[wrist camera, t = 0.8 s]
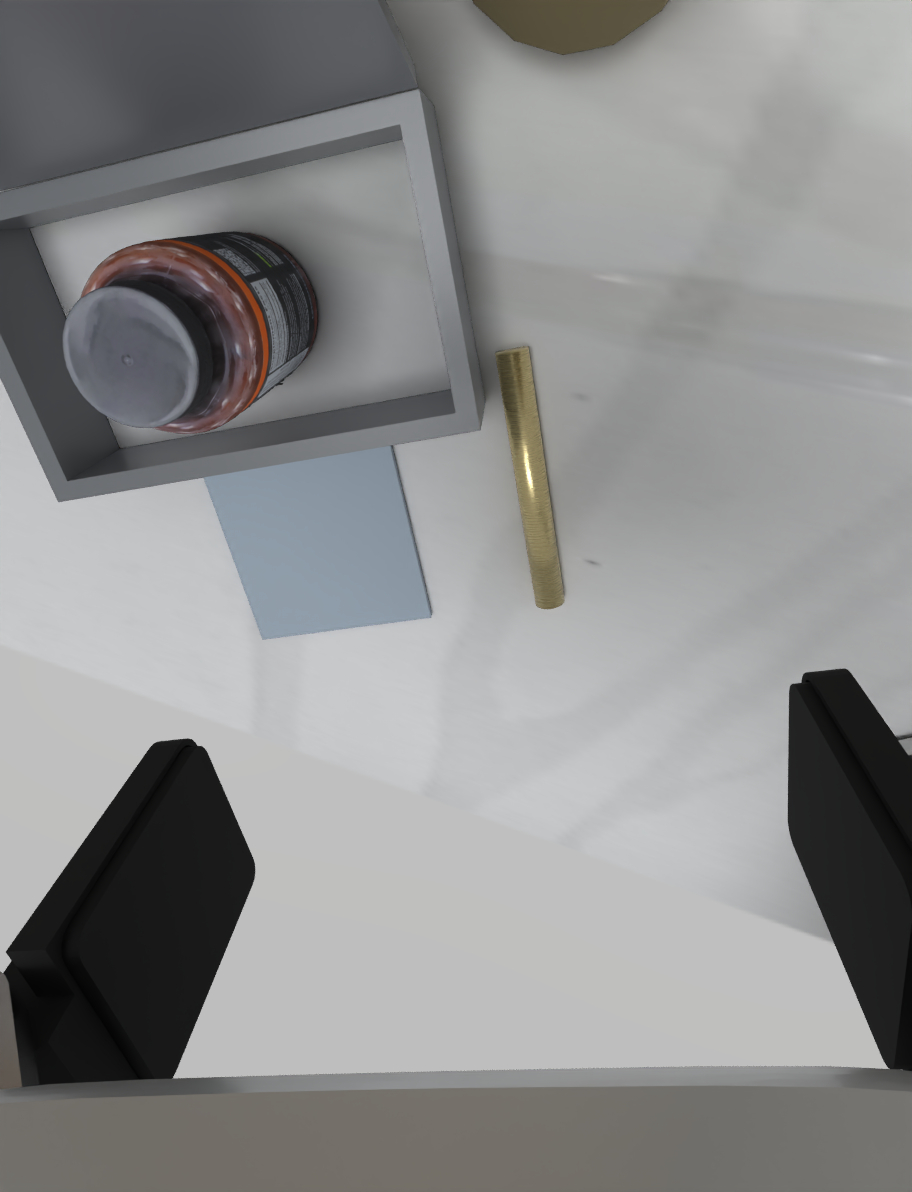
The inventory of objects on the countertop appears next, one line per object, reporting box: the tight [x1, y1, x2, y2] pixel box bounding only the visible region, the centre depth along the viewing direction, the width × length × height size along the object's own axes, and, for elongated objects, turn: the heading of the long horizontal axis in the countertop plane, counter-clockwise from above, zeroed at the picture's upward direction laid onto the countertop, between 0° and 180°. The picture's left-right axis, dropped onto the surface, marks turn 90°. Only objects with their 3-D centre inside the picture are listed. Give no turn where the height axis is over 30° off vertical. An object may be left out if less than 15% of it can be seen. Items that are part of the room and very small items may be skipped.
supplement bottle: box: [63, 232, 317, 434], centre depth 26 cm, size 6×6×11 cm
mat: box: [204, 445, 432, 640], centre depth 36 cm, size 9×9×1 cm
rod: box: [495, 346, 564, 609], centre depth 33 cm, size 12×1×1 cm
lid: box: [0, 0, 418, 191], centre depth 19 cm, size 11×18×1 cm
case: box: [0, 89, 485, 502], centre depth 29 cm, size 11×18×4 cm, turn 101°
